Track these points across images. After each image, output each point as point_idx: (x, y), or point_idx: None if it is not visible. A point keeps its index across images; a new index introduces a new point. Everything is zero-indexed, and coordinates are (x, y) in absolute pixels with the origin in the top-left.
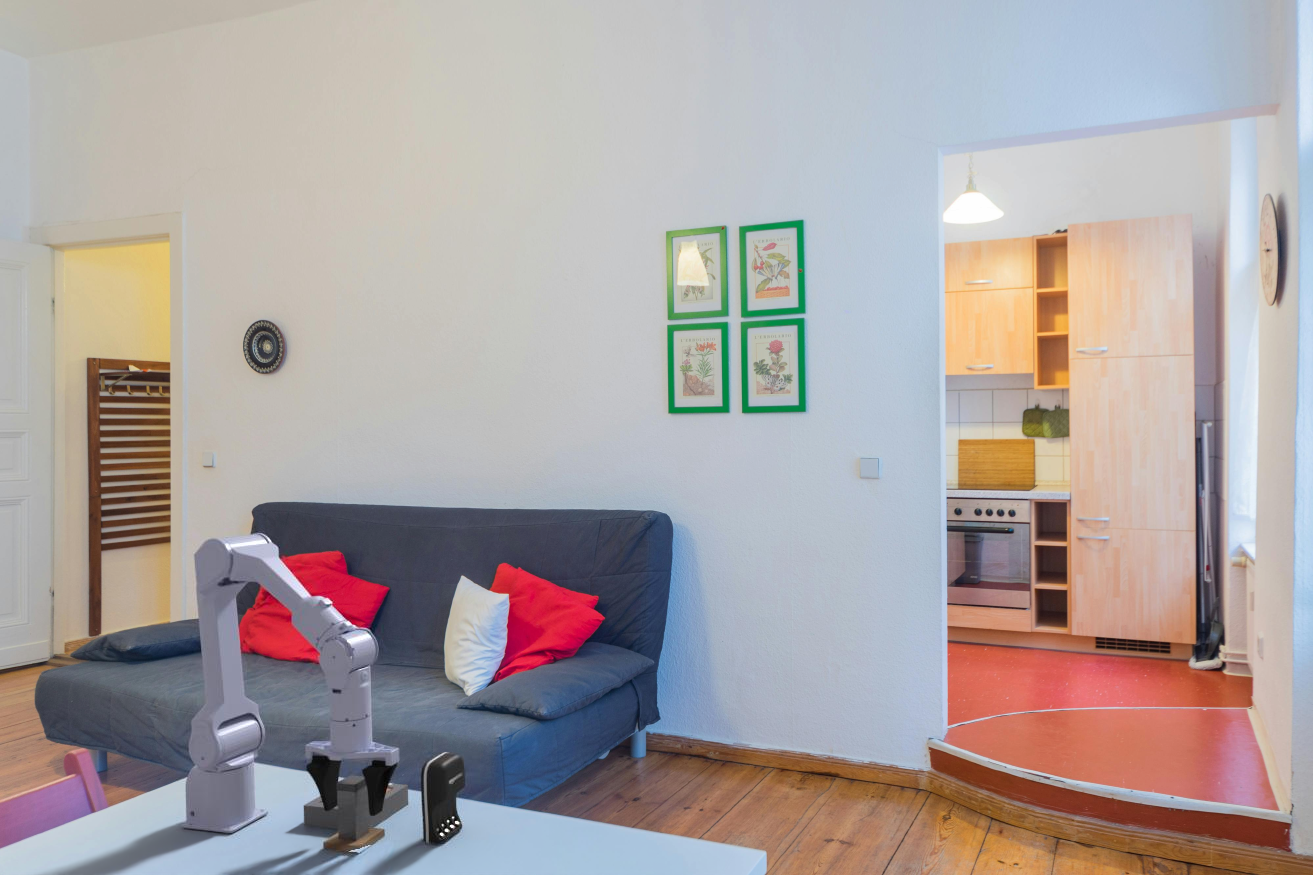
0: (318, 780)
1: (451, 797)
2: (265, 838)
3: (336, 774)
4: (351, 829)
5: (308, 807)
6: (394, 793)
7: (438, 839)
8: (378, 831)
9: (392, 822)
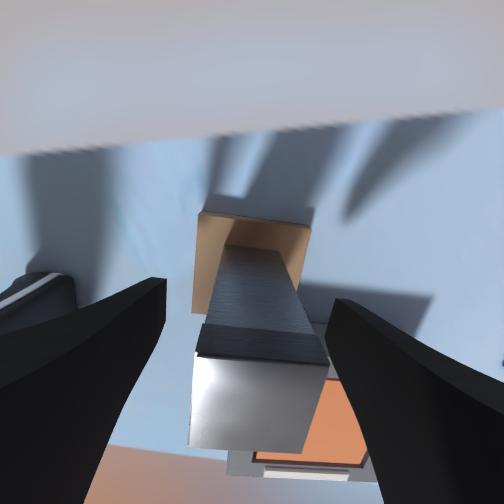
0: (457, 374)
1: None
2: (471, 265)
3: (380, 454)
4: (238, 255)
5: None
6: None
7: (19, 277)
8: (198, 299)
9: None
